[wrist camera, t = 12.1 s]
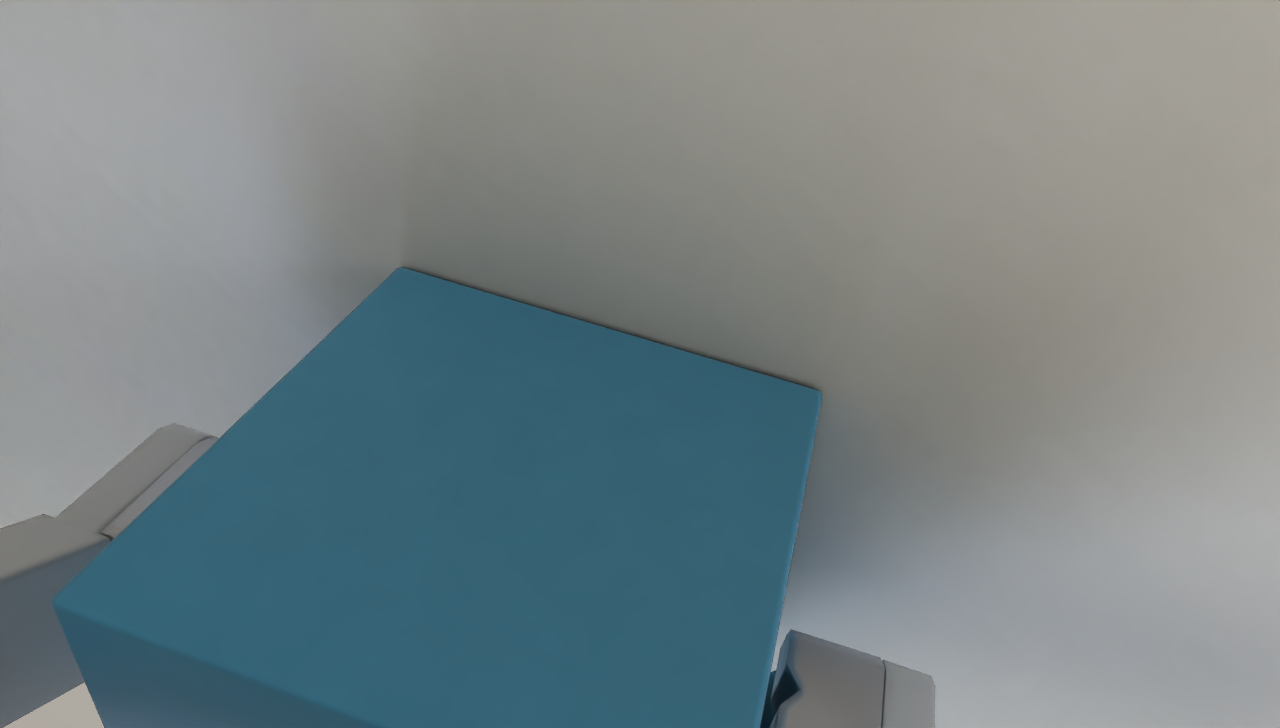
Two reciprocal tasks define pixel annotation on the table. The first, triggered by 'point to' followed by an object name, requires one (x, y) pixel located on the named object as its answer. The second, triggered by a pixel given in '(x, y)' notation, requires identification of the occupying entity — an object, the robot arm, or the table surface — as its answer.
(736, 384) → the sky blue cube
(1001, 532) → the table surface
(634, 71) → the table surface
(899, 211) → the table surface
